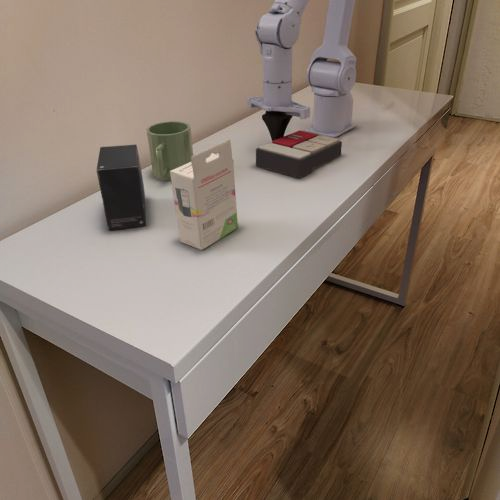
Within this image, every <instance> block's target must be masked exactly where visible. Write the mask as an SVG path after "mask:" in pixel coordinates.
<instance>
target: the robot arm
mask: <svg viewBox="0 0 500 500" xmlns="http://www.w3.org/2000/svg"><path fill="white" fill-rule="evenodd" d="M309 2H310V0H274V1H273V3H272V5H271V6H270V9H269V10H268V12H265V14H263V15H262V16H261V17H260V18H259V19H258V21H257V24H256V29H255V30H254V37H255V40H256V41H257V43H258V45H259V52H260V55H261V56H262V57H261V58H262V59H261V60H262V96H263V97H261V96H250V97H248V98H246V104H247V105H246V107H247V108H248V109H258V110H262V111H264V113H263V114H261V119H262V122H263V123H264V124H265V126H266V128H267V131H268V133H269V135H270V139H271V142H272V141H273V140H276V139H278V138H281V137H284V136H285V134H286V131H287V128H288V126H289V124H290V122H291V120H292V118H293V117H297V118H300V119H301V120H306V119H308V118H310V117H311V106H307V105H303V104H301V103H299V102H295V101H293V46H294V45H295V44H296V43H297V41H298V40H299V37H300V30H301V24H302V16H303V14H304V11H305V9H306V7H307V6H308V4H309ZM355 3H356V0H329V2H328V8H327V15H326V21H325V27H324V35H323V39H322V40H323V41H322V44H321V45H320V46H319V47H318V48H316V49H315V50H314V51H313V52H312V54H311V60H310V62H309V65H308V67H307V70H306V82H307V84H308V86H309V87H310V88H311V92H313V118H312V119H313V120H312V126H310V127H308V128H306V129H305V132H309V133H314V134H317V136H319V135H323V136H327V137H332V138H337V137H338V136H341V135H342V134H344V133H346V132H348V131H350V130H352V129H354V128H355V127H356V126H355V125H356V124H353V123H352V121H353V109H354V98H353V97H354V96H353V95H352V93H351V90H352V89H353V87H354V86H355V84H356V81H357V59H358V58H357V57H356V55H355V54H354V53H353V52H352V51H351V50H350V49H349V47H348V44H349V40H350V39H349V38H350V33H351V27H352V22H353V15H354V9H355ZM329 59H331V60H329ZM333 60H336V61H333Z"/></svg>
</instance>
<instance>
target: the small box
mask: <svg viewBox="0 0 500 500" xmlns="http://www.w3.org/2000/svg"><path fill="white" fill-rule="evenodd" d="M140 160H141V159H140V154H139V149H138V145H137V144H125V145H112V146H100V147H99V152H98V158H97V165H96V176H97V180H98V185H99V189H100V196H101V200H102V204H103V210H104V216H105V222H106V228H107V231H111V230H120V229H127V228H136V227H144V226H146V225H147V212H146V210H147V208H146V193H145V185H144V177H143V170H142V165H141V161H140Z"/></svg>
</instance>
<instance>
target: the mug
mask: <svg viewBox="0 0 500 500" xmlns="http://www.w3.org/2000/svg"><path fill="white" fill-rule="evenodd" d="M146 135H147V143H148V149H149V155H150V162H151V171H152V175H153V176H154V178H156V179H157V180H160V181H171V175H170V171H171V170H174V169H176V168H178V167H180V166H183V165H185V164H187V163H189V162H191V158H192V156H193V155H194V148H193V138H192V128H191V125H190V124H189V123H187V122H185V121H177V120H171V121H161V122H157V123H154V124H151V125H149V126H148V127H147V128H146Z"/></svg>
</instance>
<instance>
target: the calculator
mask: <svg viewBox="0 0 500 500" xmlns="http://www.w3.org/2000/svg"><path fill="white" fill-rule="evenodd" d="M342 147H343V142H342V141H340V138H337V137H335V138H332V137H327V136H323V135H318V134H314V133H309V132H306V130H305V131H304V130H297V131H294V132H292V133H290V134H287V135H284V137H281V138H278V139H276V140H273V141H272V140H271V142H268V143H265V144H262V145H260V146H258V147H257V148H255V166H256V167H258V168H261V169H265V170H268V171H273V172H276V173H279V174H283V175H286V176H289V177H293V178H297V179H302V178H303V177H305V176H307V175H310V174H312V172H313V170H314V169H316V168H318V167H321V166H322V165H324V164H326V163H329V162H331V161H332V160H335V159H337V158H338V157H341V155H342Z"/></svg>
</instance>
